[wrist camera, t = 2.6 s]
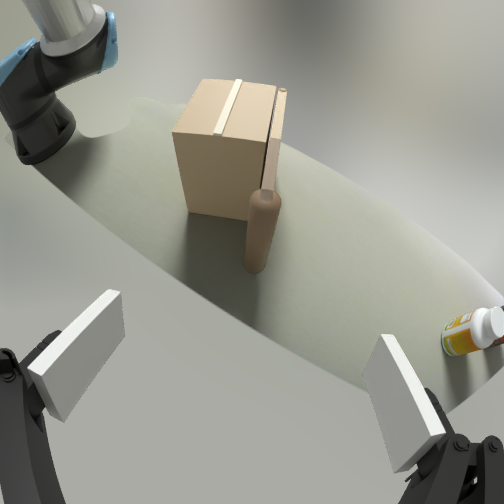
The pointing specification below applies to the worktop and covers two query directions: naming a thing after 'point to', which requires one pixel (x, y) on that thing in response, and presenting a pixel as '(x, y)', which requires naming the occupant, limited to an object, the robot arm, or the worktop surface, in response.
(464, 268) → the worktop surface
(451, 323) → the supplement bottle
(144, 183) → the worktop surface
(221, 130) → the carton
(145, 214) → the worktop surface
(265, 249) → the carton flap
